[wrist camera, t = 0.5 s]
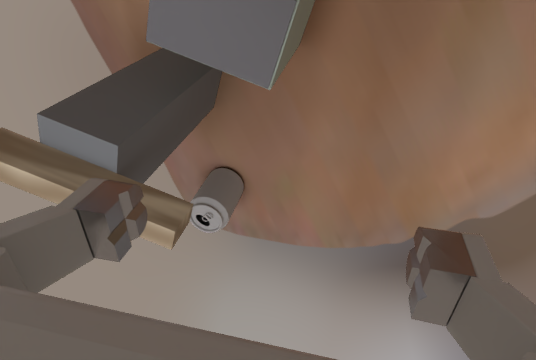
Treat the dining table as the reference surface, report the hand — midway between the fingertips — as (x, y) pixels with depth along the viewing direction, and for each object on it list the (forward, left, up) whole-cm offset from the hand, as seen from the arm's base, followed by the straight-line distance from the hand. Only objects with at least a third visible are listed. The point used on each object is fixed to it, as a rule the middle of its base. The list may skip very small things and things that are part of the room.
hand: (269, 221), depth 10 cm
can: (+37, -9, -47) cm, 60 cm away
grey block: (+3, -11, -47) cm, 48 cm away
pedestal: (+18, -19, -47) cm, 53 cm away
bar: (+18, -17, -17) cm, 30 cm away
